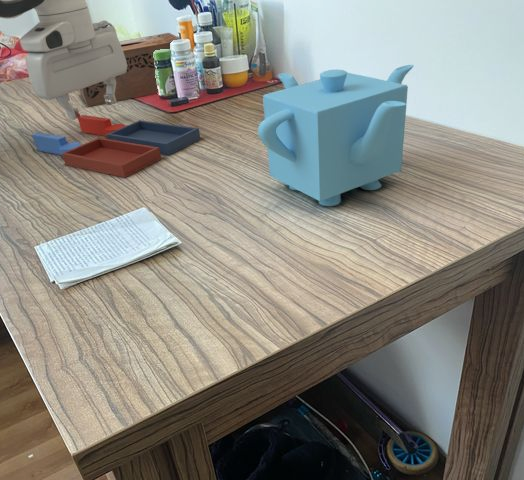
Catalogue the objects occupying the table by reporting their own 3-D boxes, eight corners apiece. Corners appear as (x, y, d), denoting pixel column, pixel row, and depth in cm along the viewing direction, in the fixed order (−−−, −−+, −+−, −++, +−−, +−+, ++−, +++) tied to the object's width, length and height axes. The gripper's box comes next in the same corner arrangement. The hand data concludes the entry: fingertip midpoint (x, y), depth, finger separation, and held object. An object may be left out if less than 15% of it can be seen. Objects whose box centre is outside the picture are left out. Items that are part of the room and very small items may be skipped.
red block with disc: (77, 134, 105) (72, 118, 103) (92, 128, 107) (87, 113, 105) (116, 140, 99) (112, 124, 97) (131, 134, 101) (127, 118, 99)
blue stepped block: (32, 152, 98) (25, 136, 97) (49, 145, 101) (43, 129, 99) (71, 160, 92) (66, 144, 91) (89, 153, 95) (83, 136, 93)
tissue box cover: (177, 75, 138) (169, 32, 131) (191, 86, 127) (183, 39, 121) (81, 94, 132) (67, 50, 125) (87, 106, 121) (73, 59, 115)
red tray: (65, 164, 91) (61, 153, 90) (102, 148, 96) (99, 137, 95) (125, 177, 83) (121, 165, 82) (161, 159, 89) (159, 147, 87)
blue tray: (109, 145, 97) (106, 134, 96) (141, 130, 102) (139, 120, 101) (168, 155, 90) (166, 143, 88) (200, 139, 95) (199, 128, 93)
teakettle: (258, 214, 68) (245, 95, 59) (283, 161, 82) (276, 58, 72) (404, 215, 64) (415, 87, 55) (405, 159, 78) (414, 49, 68)
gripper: (101, 18, 100) (121, 94, 109) (11, 42, 88) (42, 125, 97) (122, 18, 97) (142, 96, 106) (32, 42, 85) (62, 128, 94)
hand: (93, 110), depth 101 cm, fingers open, 8 cm apart
